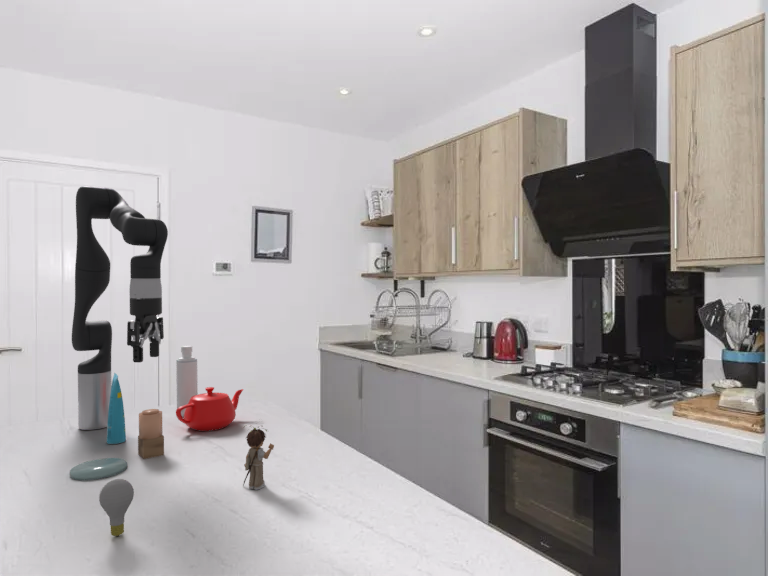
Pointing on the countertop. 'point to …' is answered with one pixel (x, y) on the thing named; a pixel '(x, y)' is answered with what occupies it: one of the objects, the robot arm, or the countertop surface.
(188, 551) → the countertop surface
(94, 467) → the dish
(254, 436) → the toy
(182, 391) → the white bottle
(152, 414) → the dome-topped cylinder
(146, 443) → the block
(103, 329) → the robot arm
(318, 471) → the countertop surface
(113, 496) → the light bulb
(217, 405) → the teapot
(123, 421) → the tube
